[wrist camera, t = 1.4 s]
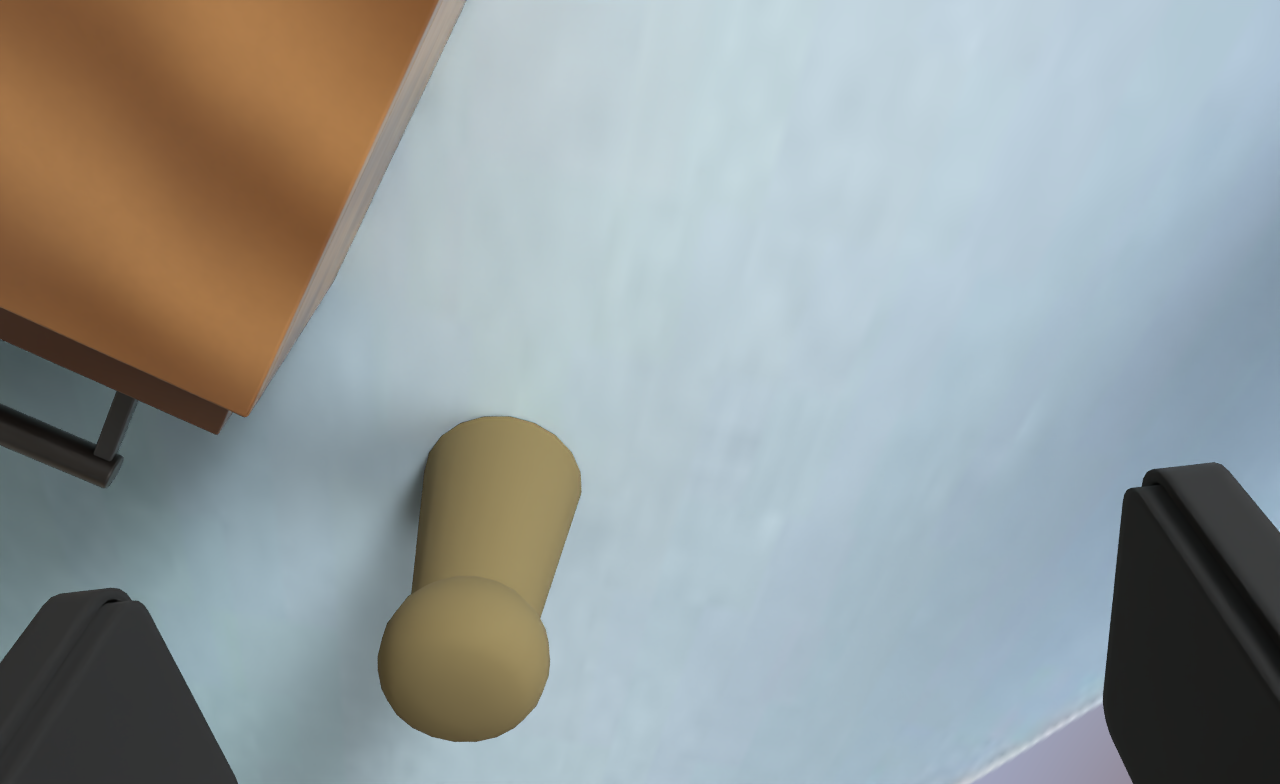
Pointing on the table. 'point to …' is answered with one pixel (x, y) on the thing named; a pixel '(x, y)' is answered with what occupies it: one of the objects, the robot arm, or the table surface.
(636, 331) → the table surface
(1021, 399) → the table surface
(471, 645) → the wooden game pawn
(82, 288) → the cabinet
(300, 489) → the table surface
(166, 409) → the drawer
